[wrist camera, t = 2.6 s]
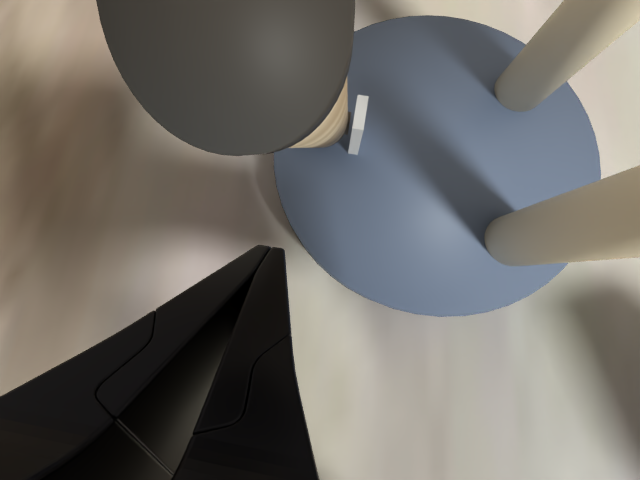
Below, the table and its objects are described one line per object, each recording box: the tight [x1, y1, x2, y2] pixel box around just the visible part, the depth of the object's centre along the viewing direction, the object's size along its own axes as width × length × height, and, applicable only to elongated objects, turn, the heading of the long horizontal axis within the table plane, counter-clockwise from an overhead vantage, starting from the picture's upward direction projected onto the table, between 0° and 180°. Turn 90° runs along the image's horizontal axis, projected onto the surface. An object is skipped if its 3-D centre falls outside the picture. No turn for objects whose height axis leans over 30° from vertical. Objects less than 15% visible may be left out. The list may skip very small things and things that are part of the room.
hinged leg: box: [96, 0, 355, 156], centre depth 9 cm, size 3×3×13 cm
